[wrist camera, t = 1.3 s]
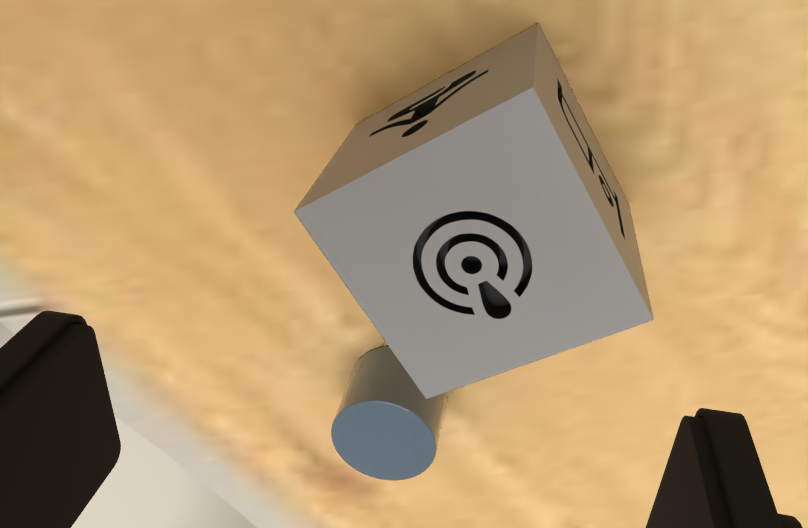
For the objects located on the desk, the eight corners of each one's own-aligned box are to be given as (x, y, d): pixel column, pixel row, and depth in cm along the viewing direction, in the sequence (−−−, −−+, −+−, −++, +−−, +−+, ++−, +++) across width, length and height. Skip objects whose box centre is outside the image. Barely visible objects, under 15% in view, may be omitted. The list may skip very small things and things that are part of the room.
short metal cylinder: (333, 377, 44) (309, 433, 40) (398, 328, 41) (380, 383, 37) (401, 435, 45) (385, 495, 41) (468, 391, 42) (458, 451, 38)
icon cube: (628, 204, 35) (653, 319, 26) (453, 278, 39) (426, 399, 30) (538, 22, 31) (532, 87, 23) (356, 124, 35) (293, 211, 27)
